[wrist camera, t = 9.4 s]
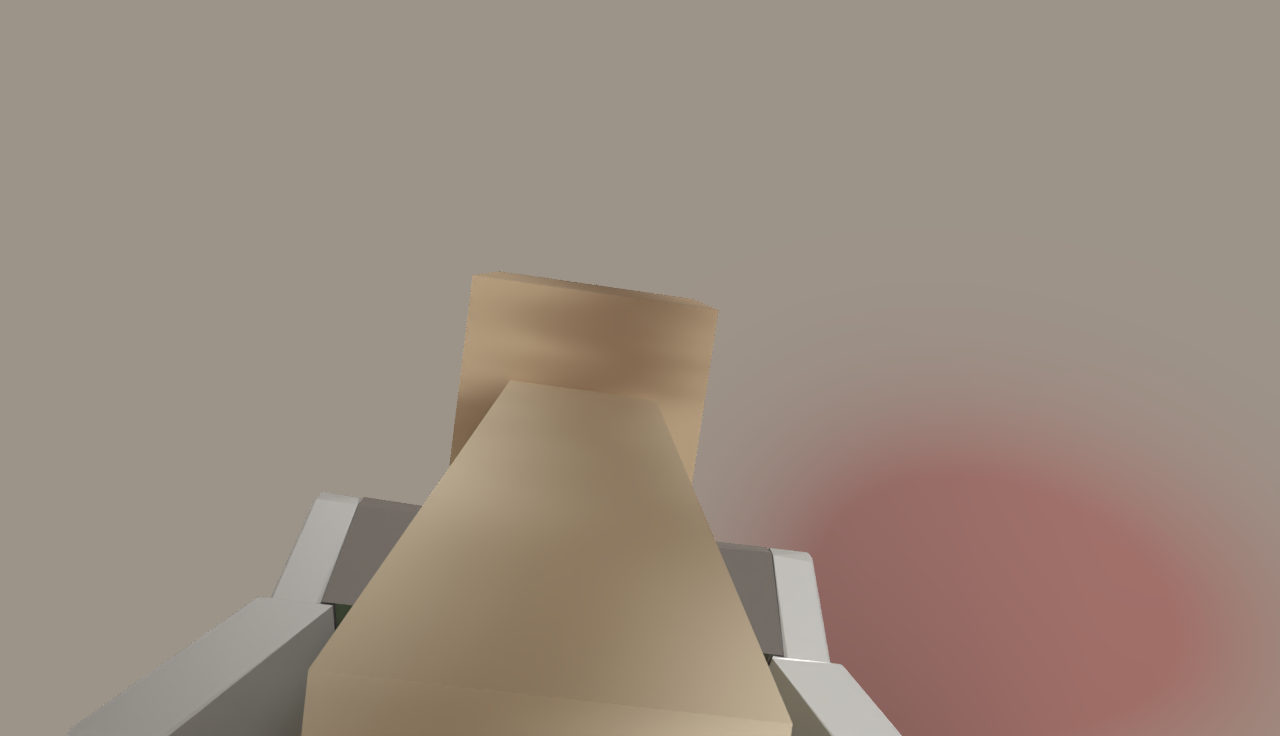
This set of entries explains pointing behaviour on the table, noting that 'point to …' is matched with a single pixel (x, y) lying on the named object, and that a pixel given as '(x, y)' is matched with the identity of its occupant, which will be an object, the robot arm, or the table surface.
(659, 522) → the block
